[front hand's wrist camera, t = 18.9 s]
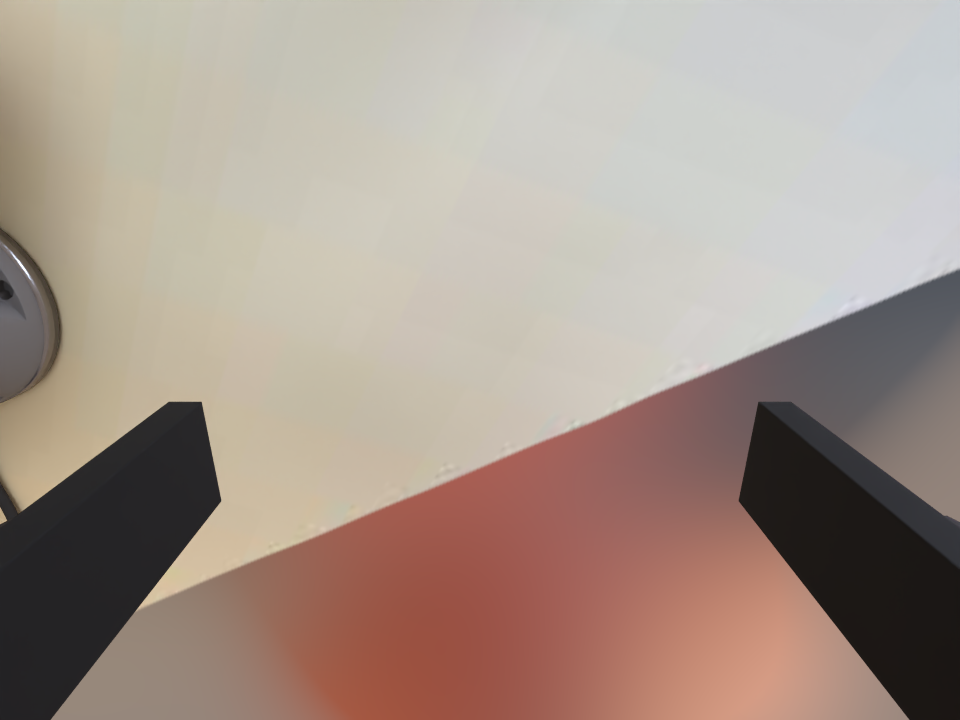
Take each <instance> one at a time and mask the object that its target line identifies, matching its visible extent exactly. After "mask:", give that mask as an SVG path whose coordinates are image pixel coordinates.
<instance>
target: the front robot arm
mask: <svg viewBox="0 0 960 720" xmlns="http://www.w3.org/2000/svg"><path fill="white" fill-rule="evenodd" d="M59 337H60V328H59V318H58V313H57V308H56V305H55V302H54V299H53V296H52V294H51V291H50V289H49V287H48V285H47V283H46V281H45V279H44V277H43V276H42V274H41V272H40V271H39V269H38V268H37V266H36V265H35V264H34V262H33V261H32V260H31V258H30V257H29V256H28V255H27V254H26V252H25V251H24V250H23V249H22V248H21V247H20V246H19V245H18V244H17V243H16V242H15V241H14V240H13V239H12V238H11V237H9V236H8V235H7V234H6V233H5V232H3V231H2V230H1V229H0V403H2V402H4V401H6V400H9V399H11V398H13V397H15V396H17V395H19V394H21V393H23V392H25V391H27V390H29V389H30V388H32V387H33V386H34V385H36V384H37V383H38V382H39V381H40V380H41V379H42V378H43V377H44V376H45V375H46V373H47V372H48V371H49V369H50V368H51V366H52V364H53V362H54V359H55V357H56V354H57V350H58V346H59ZM220 502H221V497H220V492H219V487H218V482H217V477H216V472H215V467H214V462H213V457H212V452H211V447H210V442H209V437H208V432H207V427H206V422H205V417H204V412H203V407H202V402H168V403H167V404H165V405H164V406H163V407H161V408H160V409H159V410H157V411H156V412H155V413H153V414H152V415H151V416H149V417H148V418H147V419H145V420H144V421H143V422H141V423H140V424H139V425H137V426H136V427H135V428H133V429H132V430H131V431H129V432H128V433H127V434H125V435H124V436H123V437H121V438H120V439H119V440H117V441H116V442H115V443H113V444H112V445H111V446H109V447H108V448H106V449H105V450H104V451H102V452H101V453H100V454H98V455H97V456H96V457H94V458H93V459H92V460H90V461H89V462H88V463H86V464H85V465H84V466H82V467H81V468H80V469H78V470H77V471H76V472H74V473H73V474H72V475H70V476H69V477H68V478H66V479H65V480H64V481H62V482H61V483H60V484H58V485H57V486H56V487H54V488H53V489H52V490H50V491H49V492H48V493H46V494H45V495H43V496H42V497H41V498H39V499H38V500H37V501H35V502H34V503H33V504H31V505H30V506H29V507H27V508H26V509H25V510H23V511H22V512H21V513H19V514H18V513H17V511H16V509H15V507H14V505H13V503H12V501H11V500H10V498H9V496H8V495H7V493H6V491H5V490H4V488H3V486H2V485H1V483H0V507H1V509H2V511H3V513H4V515H5V517H6V519H7V521H6V522H4V523H2V524H0V720H51V718H52V717H53V716H54V715H55V713H56V712H57V711H58V709H59V708H60V707H61V706H62V704H63V703H64V702H65V701H66V699H67V698H68V697H69V695H70V694H71V693H72V692H73V690H74V689H75V688H76V686H77V685H78V684H79V683H80V681H81V680H82V679H83V677H84V676H85V675H86V674H87V672H88V671H89V670H90V669H91V667H92V666H93V665H94V663H95V662H96V661H97V660H98V658H99V657H100V656H101V654H102V653H103V652H104V651H105V649H106V648H107V647H108V645H109V644H110V643H111V642H112V640H113V639H114V638H115V637H116V635H117V634H118V633H119V631H120V630H121V629H122V628H123V626H124V625H125V624H126V622H127V621H128V620H129V619H130V617H131V616H132V615H133V613H134V612H135V611H136V610H137V608H138V607H139V606H140V604H141V603H142V602H143V601H144V599H145V598H146V597H147V596H148V594H149V593H150V592H151V590H152V589H153V588H154V587H155V585H156V584H157V583H158V581H159V580H160V579H161V578H162V576H163V575H164V574H165V572H166V571H167V570H168V569H169V567H170V566H171V565H172V564H173V562H174V561H175V560H176V558H177V557H178V556H179V555H180V553H181V552H182V551H183V549H184V548H185V547H186V546H187V544H188V543H189V542H190V540H191V539H192V538H193V537H194V535H195V534H196V533H197V532H198V530H199V529H200V528H201V526H202V525H203V524H204V523H205V521H206V520H207V519H208V517H209V516H210V515H211V514H212V512H213V511H214V510H215V508H216V507H217V506H218V505H219V503H220ZM739 502H740V503H741V505H742V506H743V507H744V508H745V510H746V511H747V512H748V514H749V515H750V516H751V517H752V519H753V520H754V521H755V523H756V524H757V525H758V526H759V528H760V529H761V530H762V532H763V533H764V534H765V535H766V537H767V538H768V539H769V540H770V542H771V543H772V544H773V545H774V547H775V548H776V549H777V551H778V552H779V553H780V555H781V556H782V557H783V558H784V560H785V561H786V562H787V564H788V565H789V566H790V567H791V569H792V570H793V571H794V572H795V574H796V575H797V576H798V578H799V579H800V580H801V581H802V583H803V584H804V585H805V586H806V588H807V589H808V590H809V592H810V593H811V594H812V596H813V597H814V598H815V599H816V601H817V602H818V603H819V604H820V606H821V607H822V608H823V610H824V611H825V612H826V613H827V615H828V616H829V617H830V619H831V620H832V621H833V622H834V624H835V625H836V626H837V627H838V629H839V630H840V631H841V633H842V634H843V635H844V637H845V638H846V639H847V640H848V642H849V643H850V644H851V645H852V647H853V648H854V649H855V651H856V652H857V653H858V654H859V656H860V657H861V658H862V660H863V661H864V662H865V663H866V665H867V666H868V667H869V669H870V670H871V671H872V672H873V674H874V675H875V676H876V677H877V679H878V680H879V681H880V683H881V684H882V685H883V686H884V688H885V689H886V690H887V692H888V693H889V694H890V695H891V697H892V698H893V699H894V701H895V702H896V703H897V704H898V706H899V707H900V708H901V709H902V711H903V712H904V713H905V715H906V716H907V717H908V718H909V720H960V522H958V521H956V520H954V519H952V518H950V517H948V516H943V515H942V514H941V513H939V512H938V511H937V510H935V509H934V508H933V507H931V506H930V505H929V504H927V503H926V502H924V501H923V500H922V499H921V498H919V497H918V496H917V495H915V494H914V493H912V492H911V491H910V490H908V489H907V488H906V487H904V486H903V485H902V484H900V483H899V482H898V481H896V480H895V479H894V478H892V477H891V476H890V475H888V474H887V473H886V472H884V471H883V470H882V469H880V468H879V467H878V466H876V465H875V464H874V463H872V462H871V461H870V460H868V459H867V458H865V457H864V456H863V455H862V454H860V453H859V452H858V451H856V450H855V449H853V448H852V447H851V446H849V445H848V444H847V443H845V442H844V441H843V440H841V439H840V438H839V437H837V436H836V435H835V434H833V433H832V432H831V431H829V430H828V429H827V428H825V427H824V426H823V425H821V424H820V423H819V422H817V421H816V420H815V419H813V418H812V417H811V416H809V415H808V414H807V413H805V412H804V411H803V410H801V409H800V408H799V407H797V406H796V405H795V404H793V403H792V402H758V407H757V412H756V417H755V422H754V427H753V432H752V437H751V442H750V447H749V452H748V457H747V462H746V467H745V472H744V477H743V482H742V487H741V492H740V497H739Z"/></svg>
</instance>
